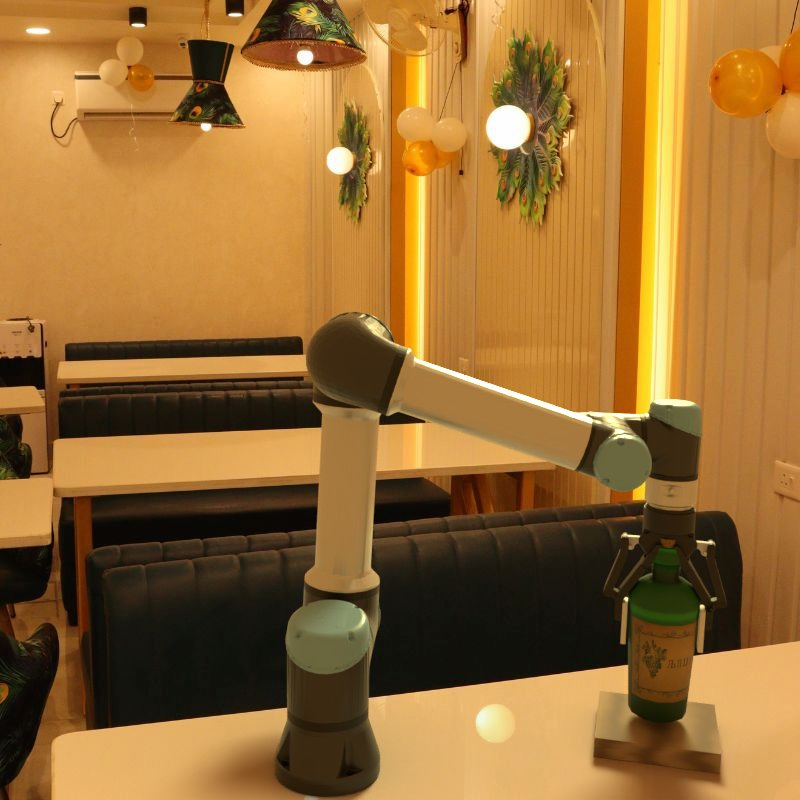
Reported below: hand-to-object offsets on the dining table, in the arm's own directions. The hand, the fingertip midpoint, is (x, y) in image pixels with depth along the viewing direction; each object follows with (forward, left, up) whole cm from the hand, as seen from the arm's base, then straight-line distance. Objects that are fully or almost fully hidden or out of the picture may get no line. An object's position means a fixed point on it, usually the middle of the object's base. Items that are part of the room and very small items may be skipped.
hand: (661, 644), depth 152 cm
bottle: (0, 0, -11) cm, 11 cm away
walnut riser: (0, 0, -15) cm, 15 cm away
